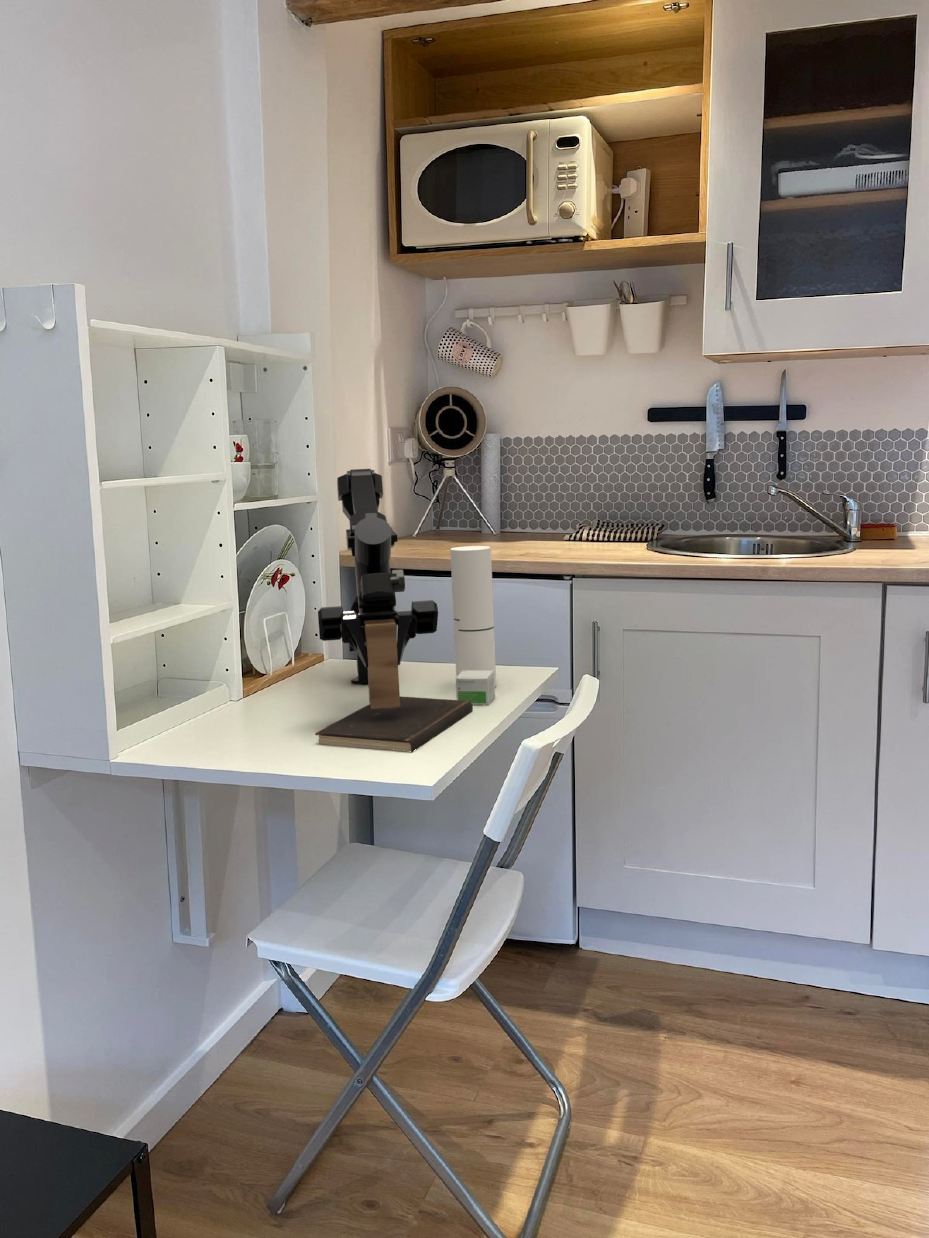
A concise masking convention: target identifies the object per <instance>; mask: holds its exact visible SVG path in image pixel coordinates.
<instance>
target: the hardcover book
mask: <svg viewBox="0 0 929 1238" xmlns="http://www.w3.org/2000/svg"><path fill="white" fill-rule="evenodd" d="M472 712H473V705H472V703H471V702H470V701H462V700H457V699H446V698H445V699H444V698H430V697H429V698H428V697H413V696H400V707H391V708H378V709H371V706H370V703H368V704H366V705H365V706H363V707H361V708H359V709H358V710H356V711H354V712H352V713H351V714H348V715H347V716H344V717H342V718H341V719H339V720H336V721H334V722H333V723H331V724H330V725H328V726H326V727H324V728H322V729H320V730H319V731H317V732H315V733H314V734H315V736H318V740H317V742H318V745H327V746H338V747H339V746H340V747H348V746H349V748H362V749H373V750H383V749H392V750H391V751H395V750H405V751H404V752H407V751H411V752H410V753H414V752H415V751H416V750H418V749H420V748H421V747H422V746H424V745H425V744H426V743H428V742H430V741H432V739H434V738H436V737H437V736H439V735H440V734H442V733H443V732H445V731H446V730H447V729H449V728H450V727H452V726H453V725H455V724H456V723H458V722H459V721H460V720H462V719H463V718H465V717H466V716H468V715H470V714H471V713H472ZM420 746H421V747H420ZM393 749H394V750H393ZM415 749H416V750H415ZM414 750H415V751H414ZM413 751H414V752H413Z"/></svg>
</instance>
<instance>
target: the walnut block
mask: <svg viewBox="0 0 929 1238" xmlns="http://www.w3.org/2000/svg"><path fill="white" fill-rule="evenodd" d="M365 636H366V651H367V656H368V667H367V669H368V683H367V684H368V696H369V697H368V699H369V704H370V706H371V709H378V708H391V707H400V694H401V692H400V677H399V665H398V656H397V638H396V623H395V621H394V619H386V620H371V621H365Z"/></svg>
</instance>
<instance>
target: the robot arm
mask: <svg viewBox="0 0 929 1238" xmlns="http://www.w3.org/2000/svg"><path fill="white" fill-rule="evenodd" d="M336 479H337V480H336V485H337V487H336V488H337V490H336V491H337V500H338V502H339V501H341V505H342V507H341V508H342V512H343V514H344V515H345V517H346V518H347V519H348V523H349V528H348V529H345V534H346V535H345V539H346V548H347V549H346V550H347V551H351V556H352V557H353V558H354V571H355V585H356V597H355V599H354V601H353V602H352V605H351V607H350V611H349V610H348V611H344V606H343V605H341V606H339V605H338V606H325V607H321V608H319V609H318V611H317V617H318V618H317V619H318V633H319V640H321V641H323V642H325V641H326V642H327V641H328V642H329V641H338V640H341V641H342V643H343V644H348V651H349V652H350V653H351V652H355V655H356V669H357V676H356V677H354V678H352V679H351V680H350V683H351V684H368V669H367V667H368V656H367V651H366V636H365V621H371V620H386V619H394V621H395V623H396V638H397V656H398V666H400V665H401V662H402V658H403V655H404V652H405V649H406V647H407V645H408V643H409V641H410V639H414V638H416V636H417V635H427V634H434V633H436V632H437V630H438V620H439V619H438V618H439V609H438V603H437V602H435V601H434V600H433V599H431V600H430V599H429V600H417V601H416V600H415V601H411V608H410V609H411V610H405V611H404V610H403V611H398V610H396V606H397V600H396V599H397V598H396V593H402V592H405V591H406V590H405V589H406V581H405V573H404V569H392V570H391V563H390V559H391V551H392V548H394V547H395V544H396V543H397V542H398V534H397V533H396V532H395V531H394V530H393V527H391V526H390V523H388V521H387V516H386V515H384V514H383V513H381V512H379V509H380V499H382V500H383V497H384V487H383V475H381V474H378V473H376V472H375V469H371V468H359V469H358V468H357V469H356V468H355V469H353V468H352V469H350V470H347V471H346V473H345V474H342V475H341V476H339V477H337V478H336Z"/></svg>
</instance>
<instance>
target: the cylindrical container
mask: <svg viewBox="0 0 929 1238" xmlns="http://www.w3.org/2000/svg"><path fill="white" fill-rule="evenodd" d="M491 548H492V547H491V546H488V545H470V546H469V545H468V546H467V545H466V546H456V547H451V548H450V550H449V551H450V571H451V591H452V592H451V593H452V616H453V633H454V635H453V637H454V652H455V653H454V655H455V657H454V658H455V676H456V677H457V676H458V675H459V674H460V673H461V672H462V671H463V670H488V671H494V685H495V686H496V687H497V673H496V672H497V671H496V649H495V647H496V646H495V645H496V644H495V641H496V640H495V627H494V626H495V621H494V620H495V619H494V597H493V595H494V593H493V570H492V569H493V568H492V567H493V566H492V549H491Z"/></svg>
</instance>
